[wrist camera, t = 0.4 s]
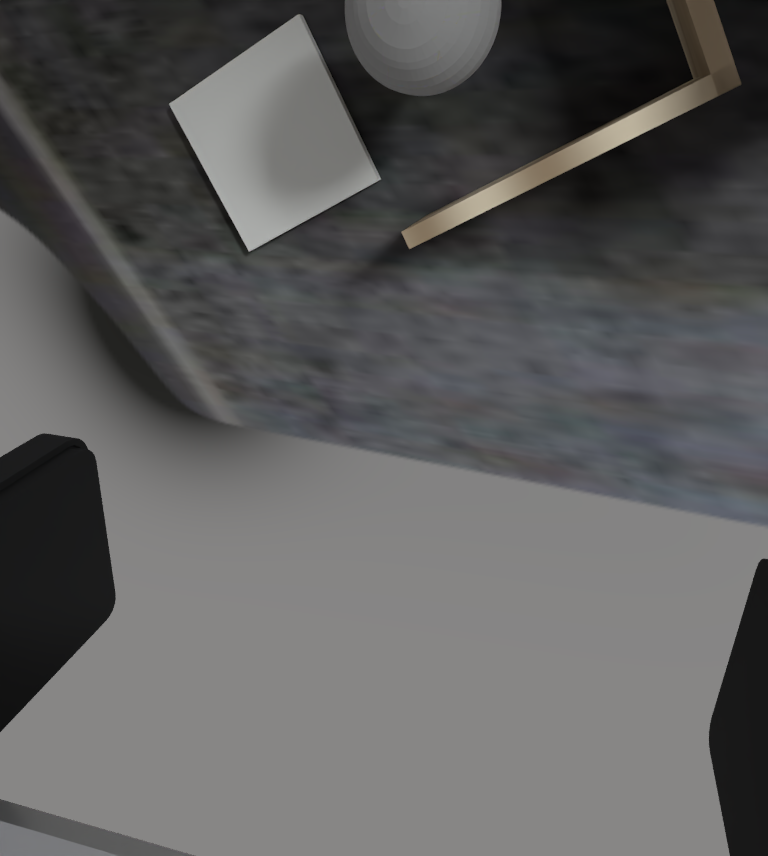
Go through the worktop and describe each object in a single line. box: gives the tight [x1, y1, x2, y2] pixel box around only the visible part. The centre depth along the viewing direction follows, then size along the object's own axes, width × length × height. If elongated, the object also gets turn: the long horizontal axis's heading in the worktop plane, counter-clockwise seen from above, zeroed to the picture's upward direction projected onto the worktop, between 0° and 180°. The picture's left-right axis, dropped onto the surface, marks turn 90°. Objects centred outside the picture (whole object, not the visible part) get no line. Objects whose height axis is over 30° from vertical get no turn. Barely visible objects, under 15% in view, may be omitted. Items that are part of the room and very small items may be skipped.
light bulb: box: [345, 0, 501, 96], centre depth 27 cm, size 6×6×10 cm
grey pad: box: [169, 14, 381, 252], centre depth 35 cm, size 8×8×1 cm
